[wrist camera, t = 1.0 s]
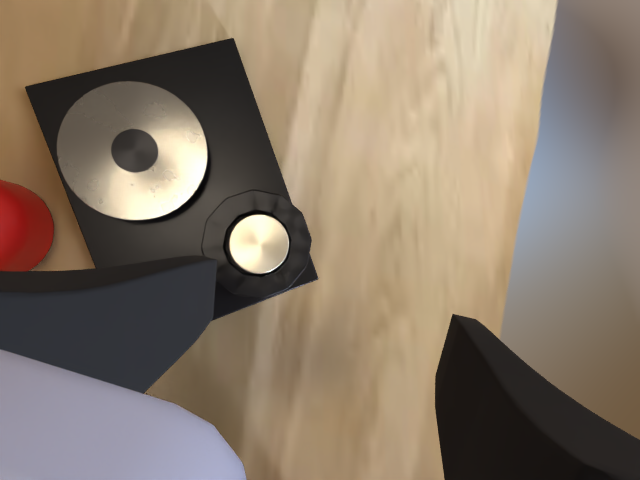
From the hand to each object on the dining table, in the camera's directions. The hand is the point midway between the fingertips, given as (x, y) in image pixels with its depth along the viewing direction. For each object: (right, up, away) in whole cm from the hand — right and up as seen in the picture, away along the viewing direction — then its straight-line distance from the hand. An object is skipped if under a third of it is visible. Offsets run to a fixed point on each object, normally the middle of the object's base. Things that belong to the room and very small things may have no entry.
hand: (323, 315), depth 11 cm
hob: (-8, +5, +12) cm, 16 cm away
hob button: (-4, +2, +11) cm, 12 cm away
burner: (-10, +7, +10) cm, 16 cm away
